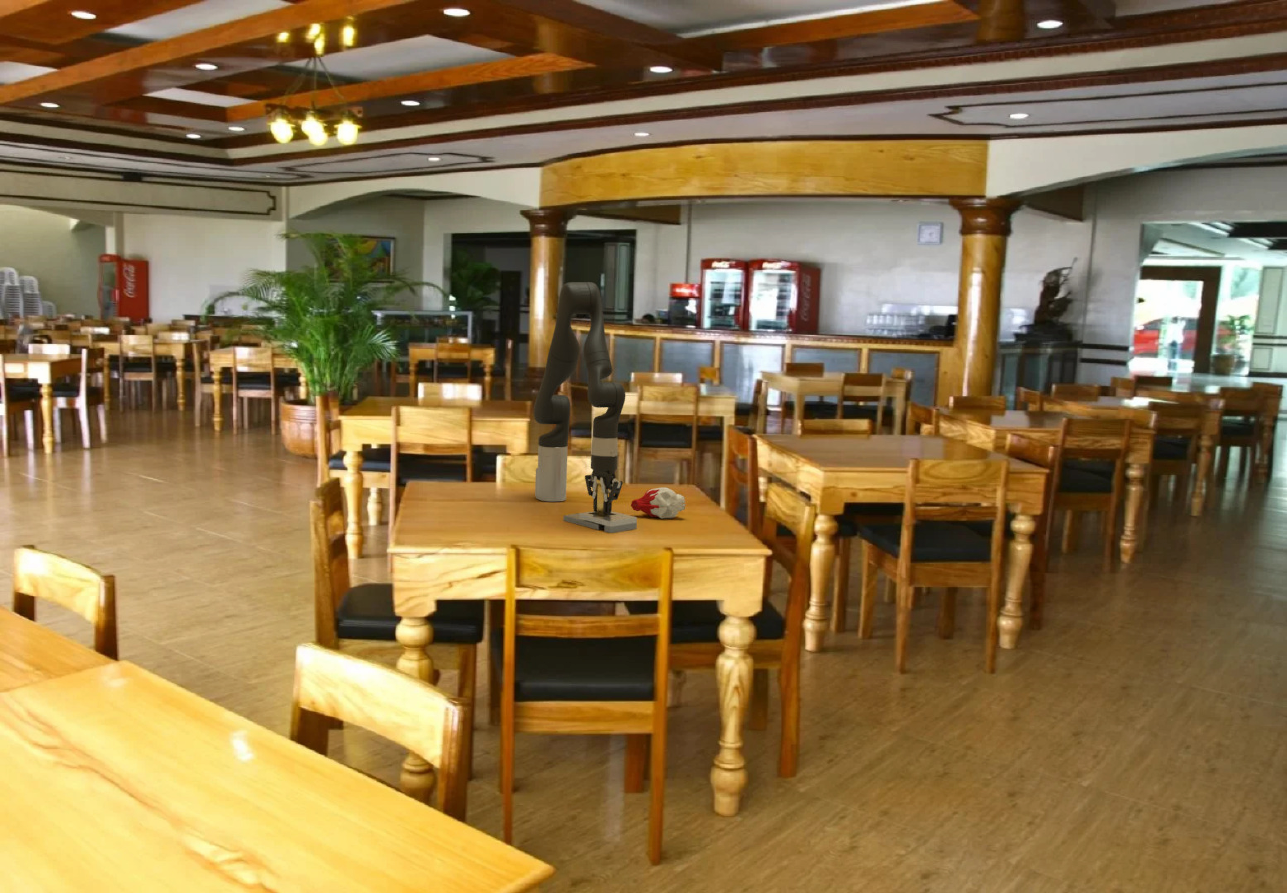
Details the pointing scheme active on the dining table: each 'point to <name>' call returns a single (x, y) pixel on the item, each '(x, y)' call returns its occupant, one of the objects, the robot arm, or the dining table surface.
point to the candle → (660, 503)
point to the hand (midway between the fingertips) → (602, 512)
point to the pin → (600, 500)
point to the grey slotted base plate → (603, 521)
